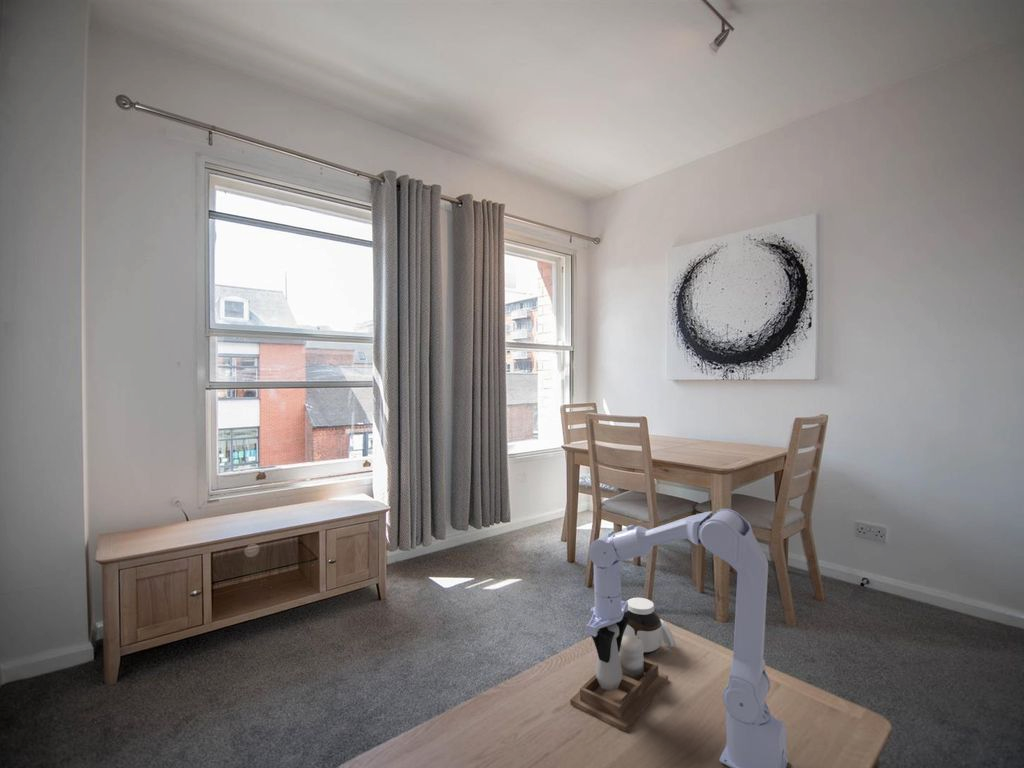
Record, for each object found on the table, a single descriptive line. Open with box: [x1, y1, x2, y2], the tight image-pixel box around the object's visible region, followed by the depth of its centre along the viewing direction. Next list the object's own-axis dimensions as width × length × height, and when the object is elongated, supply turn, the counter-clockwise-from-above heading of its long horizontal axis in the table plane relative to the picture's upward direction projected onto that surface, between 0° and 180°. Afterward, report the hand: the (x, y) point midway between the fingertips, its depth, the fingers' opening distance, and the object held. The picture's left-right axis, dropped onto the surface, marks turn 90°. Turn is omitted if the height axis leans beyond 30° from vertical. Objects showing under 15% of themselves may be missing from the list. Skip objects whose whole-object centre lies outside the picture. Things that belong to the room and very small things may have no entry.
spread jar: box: [623, 597, 676, 657], centre depth 122 cm, size 12×11×12 cm
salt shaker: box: [594, 623, 623, 691], centre depth 101 cm, size 6×6×13 cm
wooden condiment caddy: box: [569, 636, 669, 733], centre depth 104 cm, size 13×21×9 cm, turn 139°
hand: (609, 655), depth 101 cm, fingers closed on salt shaker, 4 cm apart
